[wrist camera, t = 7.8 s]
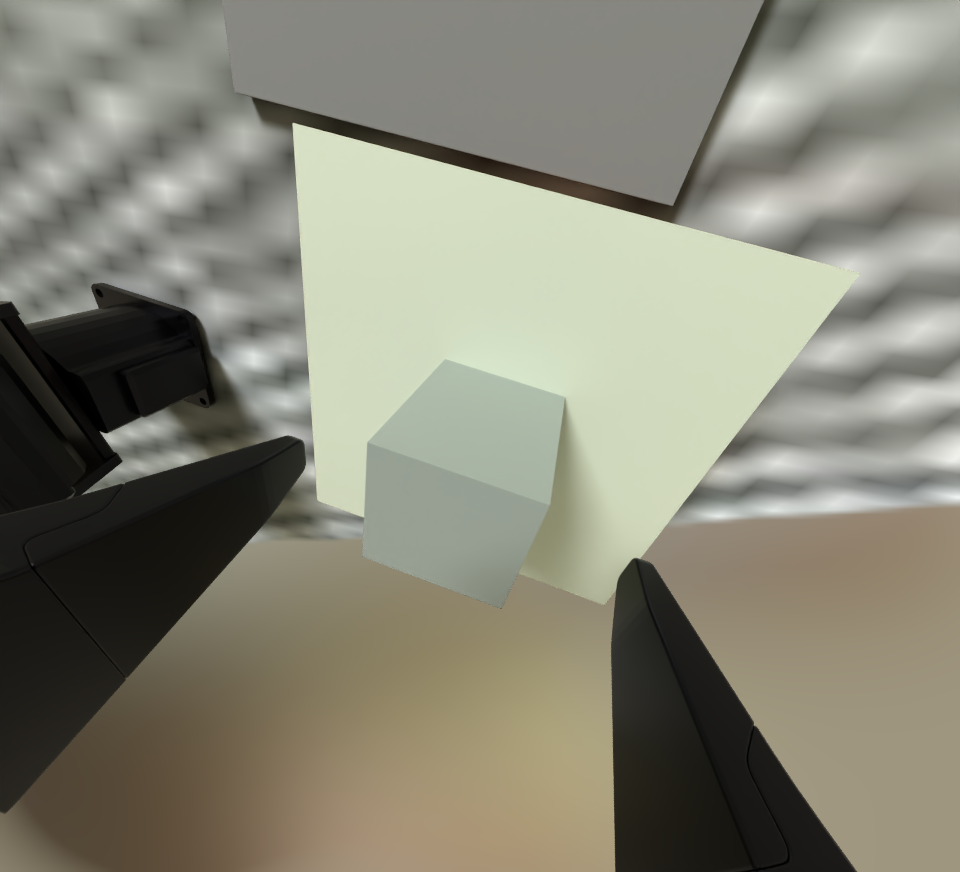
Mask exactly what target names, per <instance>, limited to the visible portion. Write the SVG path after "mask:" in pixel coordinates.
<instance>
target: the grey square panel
mask: <svg viewBox="0 0 960 872" xmlns="http://www.w3.org/2000/svg"><path fill="white" fill-rule="evenodd" d="M222 2H223V10H224V17H225V25H226V33H227V40H228V48H229V55H230V63H231V70H232V78H233V85H234V92H237V93H240V94H243V95H246V96H250V97H253V98H257V99H261V100H265V101H269V102H272V103H276V104H280V105H284V106H288V107H292V108H296V109H299V110H303V111H307V112H311V113H315V114H319V115H322V116H326V117H330V118H334V119H338V120H342V121H345V122H349V123H353V124H357V125H361V126H365V127H368V128H372V129H376V130H380V131H384V132H388V133H391V134H395V135H399V136H403V137H407V138H411V139H415V140H418V141H422V142H426V143H430V144H434V145H438V146H441V147H445V148H449V149H453V150H457V151H461V152H464V153H468V154H472V155H476V156H480V157H484V158H487V159H491V160H495V161H499V162H503V163H507V164H511V165H514V166H518V167H522V168H526V169H530V170H534V171H537V172H541V173H545V174H549V175H553V176H557V177H560V178H564V179H568V180H572V181H576V182H580V183H583V184H587V185H591V186H595V187H599V188H603V189H607V190H610V191H614V192H618V193H622V194H626V195H630V196H633V197H637V198H641V199H645V200H649V201H653V202H656V203H660V204H664V205H668V206H673V204H674V202H675V200H676V197H677V195H678V193H679V191H680V188H681V186H682V184H683V182H684V179H685V177H686V175H687V173H688V170H689V168H690V166H691V164H692V161H693V159H694V157H695V155H696V152H697V150H698V148H699V146H700V143H701V141H702V139H703V137H704V134H705V132H706V130H707V128H708V125H709V123H710V121H711V119H712V116H713V114H714V112H715V110H716V107H717V105H718V103H719V101H720V98H721V96H722V94H723V92H724V89H725V87H726V85H727V83H728V80H729V78H730V76H731V74H732V71H733V69H734V67H735V65H736V62H737V60H738V58H739V56H740V53H741V51H742V49H743V47H744V44H745V42H746V40H747V38H748V35H749V33H750V31H751V29H752V26H753V24H754V22H755V20H756V17H757V15H758V13H759V11H760V8H761V6H762V4H763V2H764V0H222Z"/></svg>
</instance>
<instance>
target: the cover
mask: <svg viewBox="0 0 960 872" xmlns="http://www.w3.org/2000/svg"><path fill="white" fill-rule="evenodd" d="M293 138H294V153H295V168H296V184H297V199H298V214H299V229H300V244H301V259H302V274H303V290H304V305H305V320H306V335H307V350H308V365H309V380H310V396H311V411H312V426H313V441H314V456H315V471H316V486H317V501H320V502H323V503H325V504H328V505H331V506H333V507H336V508H339V509H342V510H344V511H347V512H350V513H353V514H355V515H358V516H361V517H364V531H363V555H362V557H364V558H367V559H370V560H372V561H375V562H378V563H381V564H383V565H386V566H388V567H391V568H393V569H396V570H399V571H401V572H404V573H407V574H410V575H413V576H415V577H417V578H420V579H423V580H425V581H428V582H431V583H434V584H436V585H439V586H442V587H444V588H447V589H450V590H452V591H455V592H458V593H460V594H463V595H465V596H468V597H471V598H474V599H476V600H479V601H481V602H485V603H487V604H489V605H492V606H495V607H497V608H500V609H501V608H502V607H503V604H504V603H505V600H506V598H507V596H508V594H509V592H510V590H511V588H512V585H513V583H514V581H515V579H516V577H517V575H518V574H520V575H523V576H526V577H528V578H531V579H534V580H536V581H539V582H542V583H544V584H548V585H550V586H553V587H555V588H558V589H561V590H564V591H566V592H569V593H572V594H575V595H577V596H580V597H583V598H586V599H589V600H591V601H594V602H597V603H600V604H602V605H605V604H606V602H607V601H608V600H609V599H610V597H611V596H612V595H613V594H614V592H615V591H616V587H617V581H618V578H619V576H620V574H621V573H622V572H623V570H624V569H625V568H626V566H627V565H628V564H629V562H630V561H631V560H632V559H633V558H639V559H641V557H642V556H643V555H644V553H645V552H646V551H647V549H648V548H649V547H650V545H651V544H652V543H653V542H654V540H655V539H656V538H657V536H658V535H659V534H660V533H661V531H662V530H663V529H664V527H665V526H666V525H667V523H668V522H669V521H670V520H671V518H672V517H673V516H674V514H675V513H676V512H677V511H678V509H679V508H680V507H681V505H682V504H683V503H684V501H685V500H686V499H687V498H688V496H689V495H690V494H691V492H692V491H693V490H694V488H695V487H696V486H697V485H698V483H699V482H700V481H701V479H702V478H703V477H704V475H705V474H706V473H707V472H708V470H709V469H710V468H711V466H712V465H713V464H714V463H715V461H716V460H717V459H718V457H719V456H720V455H721V453H722V452H723V451H724V450H725V448H726V447H727V446H728V444H729V443H730V442H731V440H732V439H733V438H734V437H735V435H736V434H737V433H738V431H739V430H740V429H741V427H742V426H743V425H744V424H745V422H746V421H747V420H748V418H749V417H750V416H751V414H752V413H753V412H754V411H755V409H756V408H757V407H758V405H759V404H760V403H761V402H762V400H763V399H764V398H765V396H766V395H767V394H768V392H769V391H770V390H771V389H772V387H773V386H774V385H775V383H776V382H777V381H778V379H779V378H780V377H781V376H782V374H783V373H784V372H785V370H786V369H787V368H788V366H789V365H790V364H791V363H792V361H793V360H794V359H795V357H796V356H797V355H798V354H799V352H800V351H801V350H802V348H803V347H804V346H805V344H806V343H807V342H808V341H809V339H810V338H811V337H812V335H813V334H814V333H815V331H816V330H817V329H818V328H819V326H820V325H821V324H822V322H823V321H824V320H825V318H826V317H827V316H828V315H829V313H830V312H831V311H832V309H833V308H834V307H835V305H836V304H837V303H838V302H839V300H840V299H841V298H842V296H843V295H844V294H845V293H846V291H847V290H848V289H849V287H850V286H851V285H852V283H853V282H854V281H855V280H856V278H857V277H858V276H859V274H860V273H857V272H854V271H850V270H846V269H842V268H839V267H835V266H831V265H827V264H824V263H820V262H816V261H812V260H809V259H805V258H801V257H797V256H793V255H790V254H786V253H782V252H778V251H775V250H771V249H767V248H763V247H760V246H756V245H752V244H748V243H744V242H741V241H737V240H733V239H729V238H726V237H722V236H718V235H714V234H710V233H707V232H703V231H699V230H695V229H692V228H688V227H684V226H680V225H676V224H673V223H669V222H665V221H661V220H658V219H654V218H650V217H646V216H643V215H639V214H635V213H631V212H627V211H624V210H620V209H616V208H612V207H609V206H605V205H601V204H597V203H593V202H590V201H586V200H582V199H578V198H575V197H571V196H567V195H563V194H560V193H556V192H552V191H548V190H544V189H541V188H537V187H533V186H529V185H526V184H522V183H518V182H514V181H510V180H507V179H503V178H499V177H495V176H492V175H488V174H484V173H480V172H477V171H473V170H469V169H465V168H461V167H458V166H454V165H450V164H446V163H443V162H439V161H435V160H431V159H427V158H424V157H420V156H416V155H412V154H409V153H405V152H401V151H397V150H394V149H390V148H386V147H382V146H378V145H375V144H371V143H367V142H363V141H360V140H356V139H352V138H348V137H344V136H341V135H337V134H333V133H329V132H326V131H322V130H318V129H314V128H310V127H307V126H303V125H299V124H295V123H293Z"/></svg>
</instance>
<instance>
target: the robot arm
mask: <svg viewBox="0 0 960 872" xmlns="http://www.w3.org/2000/svg"><path fill="white" fill-rule="evenodd" d="M91 288H92V292H93V294H94V297H95V299H96V302H97V304H98V307H99V309H95V310H91V311H86V312H81V313H77V314H72V315H68V316H63V317H58V318H54V319H49V320H45V321H40V322H35V323H31V324H26V325H24V323H23V322H22V321H21V319H20V318H19V316H18V315H19V314H20V313H19V312H18V310H17V309H16V307H15V306H14V305H13V303H12V302H3V301H0V813H3V814H5V813H7V812H8V811H9V810H10V809H11V808H12V807H13V806H14V805H15V804H16V803H17V801H19V800H20V798H21V797H22V796H23V795H24V794H25V793H26V792H27V791H28V789H29V788H30V787H31V786H32V785H33V784H34V783H35V782H36V780H37V779H38V778H39V777H40V776H41V775H42V774H43V773H44V772H45V770H46V769H47V768H48V767H49V766H50V765H51V764H52V762H53V761H54V760H55V759H56V758H57V757H58V756H59V755H60V753H61V752H62V751H63V750H64V749H65V748H66V747H67V746H68V744H69V743H70V742H71V741H72V740H73V739H74V737H76V735H77V734H78V733H79V732H80V731H81V730H82V729H83V728H84V727H85V725H86V724H87V723H88V722H89V721H90V720H91V719H92V717H93V716H94V715H95V714H96V713H97V712H98V711H99V710H100V709H101V707H102V706H103V705H104V704H105V703H106V702H107V701H108V699H109V698H110V697H111V696H112V695H113V694H114V693H115V692H116V691H117V689H118V688H119V687H120V686H121V685H122V684H123V682H124V681H125V680H126V678H127V677H128V676H129V675H130V674H131V673H132V672H133V671H134V670H135V669H136V668H137V667H138V665H139V664H140V663H141V662H142V661H143V660H144V659H145V657H146V656H147V655H148V654H149V653H150V652H151V651H152V649H154V647H155V646H156V645H157V644H158V643H159V642H160V641H161V640H162V638H163V637H164V636H165V635H166V634H167V633H168V631H170V629H171V628H172V627H173V626H174V625H175V624H176V623H177V621H178V620H179V619H180V618H181V617H182V616H183V615H184V614H185V613H186V611H187V610H188V609H189V608H190V607H191V606H192V605H193V603H194V602H195V601H196V600H197V599H198V598H199V597H200V595H201V594H202V593H203V592H204V591H205V590H206V589H207V588H208V587H209V586H210V584H211V583H212V582H213V581H214V580H215V579H216V578H217V577H218V575H219V574H220V573H221V572H222V571H223V570H224V569H225V568H226V566H227V565H228V564H229V563H230V562H231V561H232V560H233V559H234V557H235V556H236V555H237V554H238V553H239V552H240V551H241V550H242V548H243V547H244V546H245V545H246V544H247V543H248V542H249V541H250V539H251V538H252V537H253V536H254V535H255V534H256V533H257V532H258V530H259V529H260V528H261V527H262V526H263V525H264V524H265V522H266V521H267V520H268V519H269V518H270V517H271V515H272V514H273V513H274V511H275V510H276V509H277V507H278V506H279V505H280V503H281V502H282V500H283V499H284V498H285V496H286V495H287V493H288V492H289V491H290V489H291V488H292V486H293V485H294V484H295V482H296V481H297V479H298V478H299V477H300V475H301V474H302V473H303V471H304V469H305V466H306V456H305V445H304V442H303V441H302V440H301V439H298V438H295V437H292V436H284V437H280V438H277V439H273V440H270V441H267V442H263V443H260V444H256V445H253V446H249V447H246V448H242V449H239V450H236V451H232V452H229V453H225V454H222V455H218V456H215V457H212V458H208V459H205V460H201V461H198V462H194V463H191V464H188V465H184V466H181V467H177V468H174V469H170V470H167V471H163V472H160V473H157V474H153V475H150V476H146V477H143V478H139V479H136V480H132V481H129V482H126V483H125V484H119V485H115V486H112V487H108V488H105V489H101V490H98V491H94V492H91V493H87V494H83V493H84V492H85V491H87V490H88V489H89V488H90V487H92V486H93V485H94V484H95V483H97V482H98V481H99V480H100V479H102V478H103V477H104V476H105V475H107V474H108V473H109V472H110V471H112V470H113V469H114V468H115V467H117V466H118V465H119V464H120V463H122V459H121V458H120V457H119V455H118V454H117V453H115V452H113V450H112V449H111V447H110V446H109V444H108V443H107V442H106V440H105V439H104V437H103V436H102V434H101V433H100V432H99V431H101V432H103V433H109V432H111V431H113V430H115V429H117V428H120V427H122V426H124V425H126V424H128V423H130V422H132V421H134V420H136V419H138V418H141V417H148V416H150V415H152V414H154V413H156V412H158V411H160V410H163V409H165V408H167V407H169V406H171V405H173V404H175V403H177V402H179V401H181V400H184V401H187V402H190V403H193V404H196V405H198V406H201V407H204V408H209V407H211V406H213V405H214V404H215V400H214V396H213V391H212V387H211V383H210V379H209V375H208V371H207V367H206V363H205V359H204V355H203V351H202V346H201V342H200V338H199V334H198V330H197V326H196V322H195V319H194V317H193V315H192V314H191V313H190V312H189V311H187V310H185V309H182V308H179V307H176V306H173V305H170V304H167V303H163V302H160V301H157V300H154V299H151V298H148V297H145V296H142V295H139V294H136V293H133V292H130V291H127V290H123V289H120V288H117V287H114V286H111V285H108V284H105V283H97V284H93V285H92V287H91ZM82 494H83V495H82ZM611 664H612V665H611V666H612V719H613V769H614V770H613V772H614V823H615V872H857V871H856V870H855V868H854V867H853V866H852V864H851V863H850V862H849V860H848V859H847V857H846V856H845V854H844V853H843V852H842V850H841V849H840V848H839V846H838V845H837V843H836V842H835V841H834V839H833V838H832V836H831V835H830V834H829V832H828V831H827V830H826V828H825V827H824V825H823V824H822V823H821V821H820V820H819V818H818V817H817V815H816V814H815V813H814V811H813V810H812V808H811V807H810V806H809V804H808V803H807V801H806V800H805V798H804V797H803V795H802V794H801V793H800V791H799V790H798V788H797V787H796V786H795V784H794V783H793V781H792V780H791V778H790V776H789V775H788V773H787V772H786V771H785V769H784V768H783V766H782V764H781V763H780V761H779V760H778V758H777V757H776V755H775V754H774V752H773V751H772V749H771V748H770V746H769V745H768V743H767V742H766V740H765V738H764V737H763V735H762V734H761V732H760V731H759V729H758V728H757V727H756V726H754V722H753V720H752V718H751V717H750V715H749V714H748V712H747V711H746V709H745V708H744V706H743V704H742V703H741V701H740V700H739V698H738V697H737V695H736V693H735V692H734V690H733V689H732V687H731V686H730V684H729V683H728V681H727V679H726V678H725V676H724V675H723V673H722V672H721V670H720V669H719V667H718V665H717V664H716V662H715V661H714V660H713V658H712V656H711V654H710V653H709V651H708V650H707V648H706V647H705V645H704V644H703V642H702V640H701V639H700V637H699V636H698V634H697V633H696V631H695V630H694V628H693V626H692V625H691V623H690V622H689V620H688V619H687V617H686V615H685V614H684V612H683V611H682V609H681V608H680V606H679V605H678V603H677V601H676V600H675V598H674V597H673V595H672V594H671V592H670V591H669V589H668V587H667V586H666V584H665V583H664V581H663V580H662V578H661V576H660V575H659V573H658V572H657V570H656V569H655V567H654V566H653V565H652V564H651V563H650V562H648V561H645V560H642V559H639V558H633V559H632V560H631V561H630V562H629V564H628V565H627V566H626V568H625V569H624V570H623V572H622V573H621V574H620V576H619V578H618V581H617V587H616V598H615V608H614V619H613V630H612V642H611Z"/></svg>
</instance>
